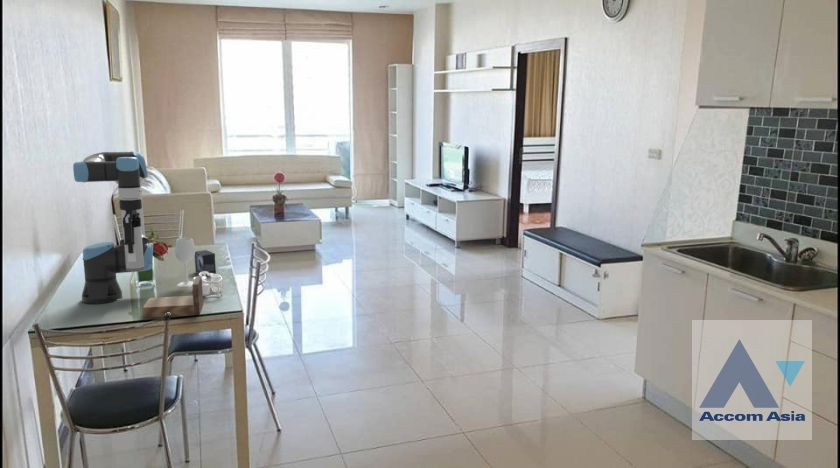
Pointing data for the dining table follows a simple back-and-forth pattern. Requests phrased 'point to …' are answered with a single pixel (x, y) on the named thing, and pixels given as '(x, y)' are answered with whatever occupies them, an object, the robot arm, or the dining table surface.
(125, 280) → the dining table surface
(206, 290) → the car outline toy
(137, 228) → the travel mug
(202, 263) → the small box
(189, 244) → the wineglass
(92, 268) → the robot arm
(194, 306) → the ledge
